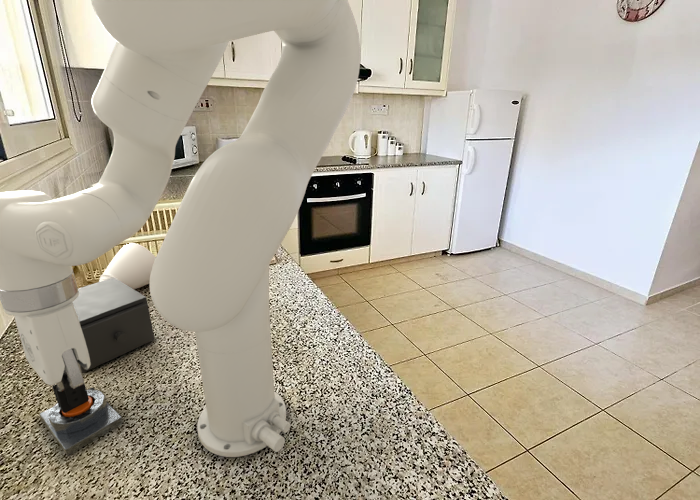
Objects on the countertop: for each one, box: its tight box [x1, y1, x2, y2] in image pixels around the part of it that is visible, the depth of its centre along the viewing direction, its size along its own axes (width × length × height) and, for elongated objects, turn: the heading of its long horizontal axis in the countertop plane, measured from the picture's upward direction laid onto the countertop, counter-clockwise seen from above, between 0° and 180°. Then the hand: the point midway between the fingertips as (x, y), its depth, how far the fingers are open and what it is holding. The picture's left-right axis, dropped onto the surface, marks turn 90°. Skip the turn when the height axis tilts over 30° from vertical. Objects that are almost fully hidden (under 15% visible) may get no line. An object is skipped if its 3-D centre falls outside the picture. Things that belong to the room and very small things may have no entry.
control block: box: [39, 386, 124, 457], centre depth 54 cm, size 10×7×3 cm
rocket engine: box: [98, 242, 156, 290], centre depth 88 cm, size 12×12×18 cm
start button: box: [62, 396, 93, 417], centre depth 54 cm, size 4×4×2 cm
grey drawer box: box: [72, 278, 155, 374], centre depth 71 cm, size 14×13×10 cm
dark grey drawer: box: [81, 303, 155, 371], centre depth 70 cm, size 14×11×8 cm
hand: (74, 404), depth 54 cm, fingers closed
